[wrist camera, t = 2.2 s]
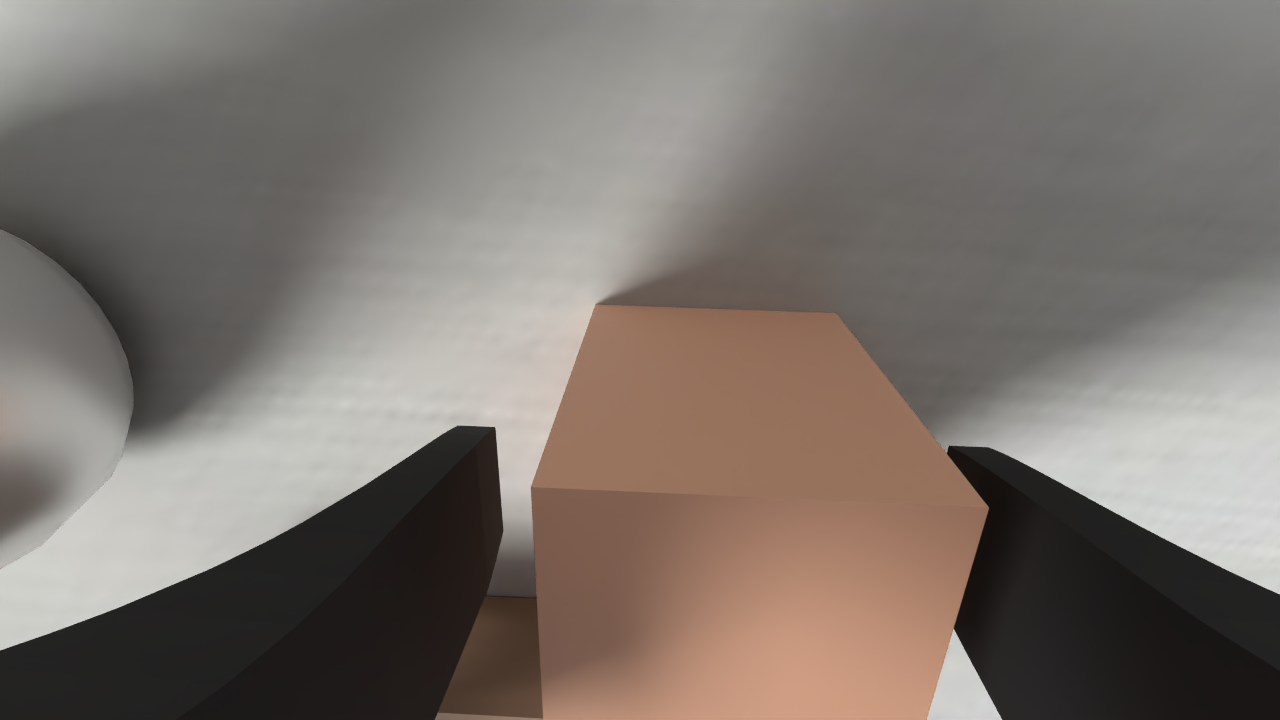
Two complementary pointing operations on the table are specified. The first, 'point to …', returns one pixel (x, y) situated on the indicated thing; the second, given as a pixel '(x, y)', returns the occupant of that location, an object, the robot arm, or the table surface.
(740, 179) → the table surface
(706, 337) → the terracotta cube
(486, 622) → the walnut pedestal
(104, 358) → the plastic bottle
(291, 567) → the robot arm
